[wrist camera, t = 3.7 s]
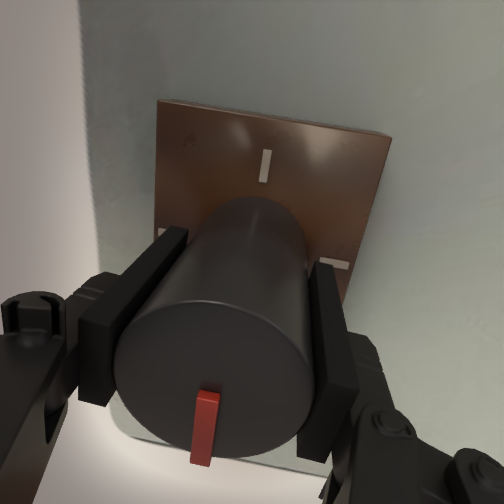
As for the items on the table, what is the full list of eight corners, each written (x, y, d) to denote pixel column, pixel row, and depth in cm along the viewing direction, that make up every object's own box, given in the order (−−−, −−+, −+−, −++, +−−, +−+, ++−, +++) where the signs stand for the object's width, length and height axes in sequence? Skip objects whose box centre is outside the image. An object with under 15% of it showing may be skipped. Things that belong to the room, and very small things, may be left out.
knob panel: (172, 98, 16) (155, 99, 14) (382, 132, 16) (394, 137, 14) (163, 308, 21) (149, 329, 19) (323, 338, 21) (325, 363, 19)
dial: (205, 187, 16) (100, 287, 7) (316, 206, 16) (340, 334, 7) (196, 284, 18) (107, 447, 10) (294, 302, 18) (292, 487, 9)
